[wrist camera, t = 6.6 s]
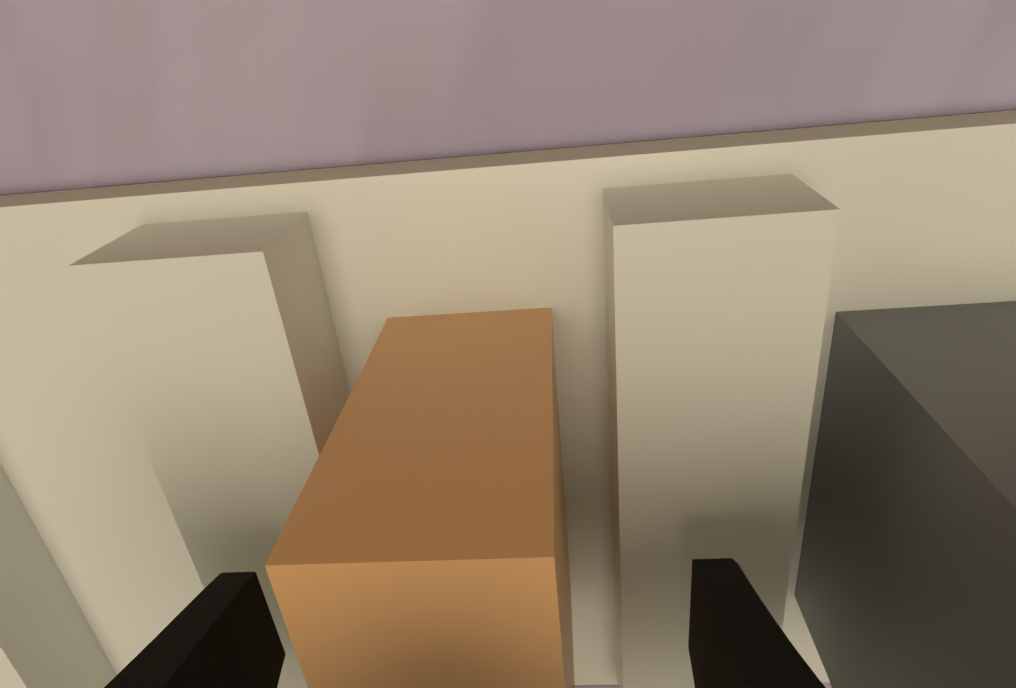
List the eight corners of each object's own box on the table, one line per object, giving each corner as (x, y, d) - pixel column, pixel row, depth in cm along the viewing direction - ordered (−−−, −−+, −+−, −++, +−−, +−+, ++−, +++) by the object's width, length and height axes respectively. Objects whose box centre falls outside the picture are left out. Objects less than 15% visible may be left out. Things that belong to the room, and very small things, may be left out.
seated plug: (935, 592, 15) (1156, 931, 9) (793, 595, 15) (931, 928, 10) (1017, 300, 11) (1427, 566, 6) (836, 311, 12) (1075, 574, 6)
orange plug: (570, 586, 15) (583, 906, 10) (441, 590, 15) (384, 903, 10) (551, 307, 12) (554, 556, 7) (387, 317, 12) (263, 565, 7)
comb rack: (1059, 642, 17) (1157, 766, 14) (46, 659, 19) (-36, 767, 16) (1294, 85, 11) (1544, 117, 8) (-227, 214, 13) (-426, 271, 10)
